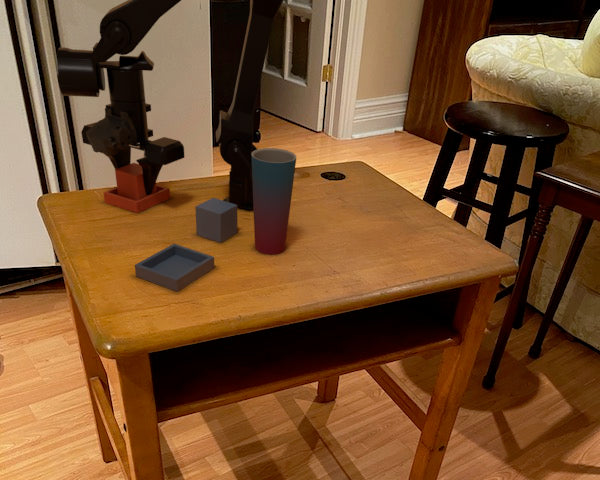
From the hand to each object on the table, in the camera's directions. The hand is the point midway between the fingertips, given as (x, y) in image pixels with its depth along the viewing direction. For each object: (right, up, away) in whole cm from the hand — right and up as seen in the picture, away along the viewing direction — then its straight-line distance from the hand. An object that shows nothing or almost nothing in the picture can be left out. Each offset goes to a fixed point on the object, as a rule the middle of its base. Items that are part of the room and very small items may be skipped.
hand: (137, 190), depth 108 cm
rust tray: (0, -1, +1) cm, 2 cm away
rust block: (0, -1, +1) cm, 1 cm away
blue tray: (+11, -19, -19) cm, 29 cm away
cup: (+25, -13, -10) cm, 30 cm away
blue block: (+16, -10, -8) cm, 20 cm away
